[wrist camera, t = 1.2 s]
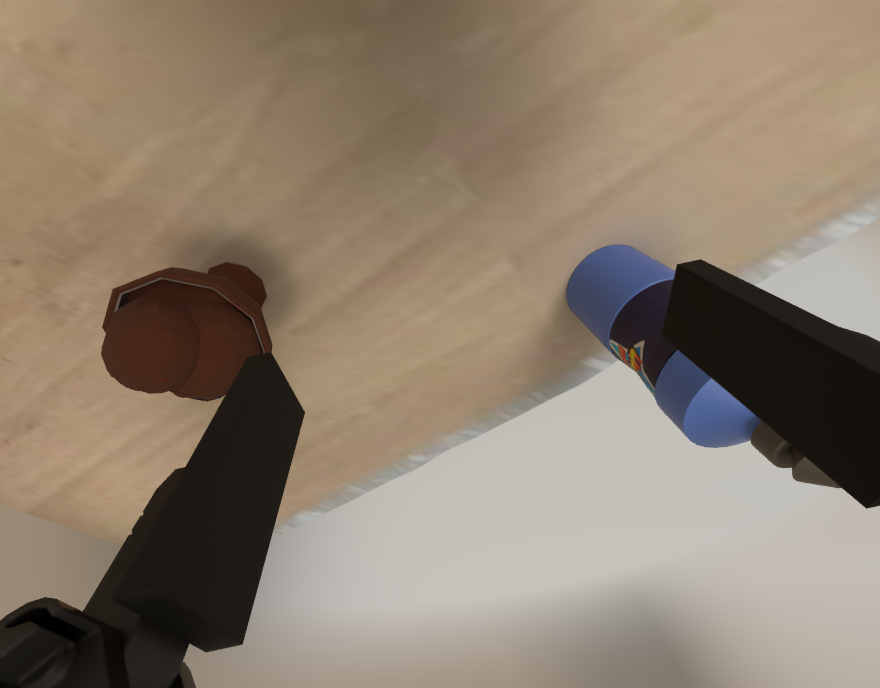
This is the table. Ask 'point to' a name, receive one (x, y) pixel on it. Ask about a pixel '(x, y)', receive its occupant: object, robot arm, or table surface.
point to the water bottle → (669, 356)
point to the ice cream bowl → (185, 330)
